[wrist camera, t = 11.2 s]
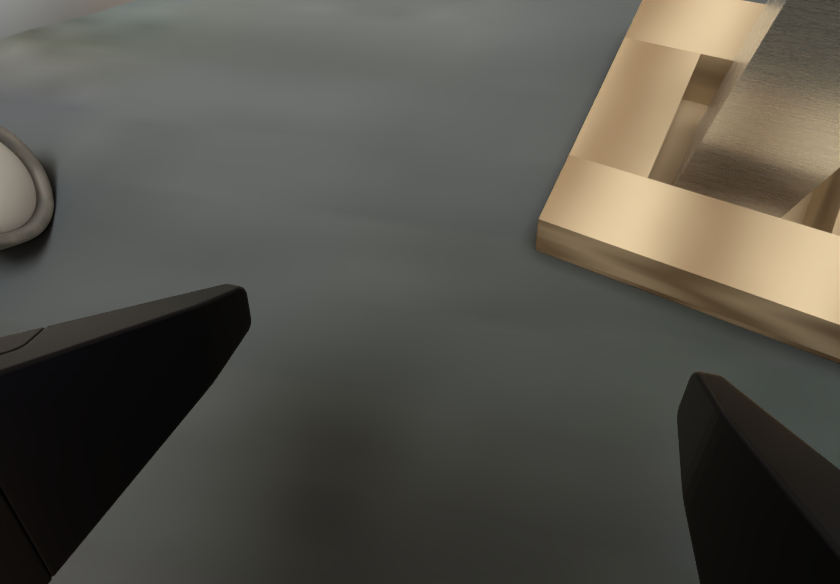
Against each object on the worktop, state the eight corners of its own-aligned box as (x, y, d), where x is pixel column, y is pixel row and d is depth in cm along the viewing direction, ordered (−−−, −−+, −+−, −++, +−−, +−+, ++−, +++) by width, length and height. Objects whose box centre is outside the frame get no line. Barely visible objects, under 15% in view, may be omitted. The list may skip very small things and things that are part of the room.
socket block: (920, 111, 23) (999, 46, 19) (843, 369, 20) (917, 352, 16) (631, 47, 27) (650, -16, 23) (534, 254, 24) (538, 219, 21)
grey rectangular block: (767, 229, 22) (1123, -78, 9) (667, 197, 23) (852, -108, 10) (797, 149, 22) (1159, -233, 10) (698, 124, 24) (904, -241, 11)
